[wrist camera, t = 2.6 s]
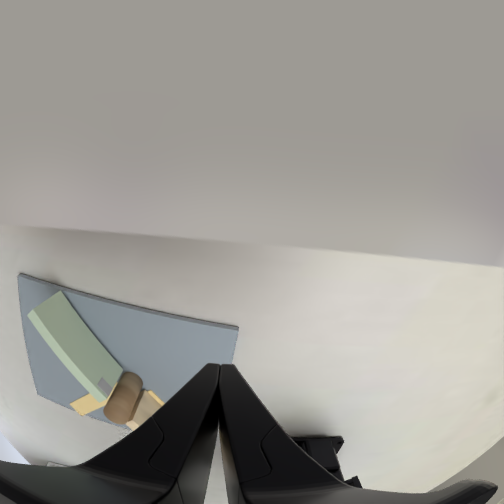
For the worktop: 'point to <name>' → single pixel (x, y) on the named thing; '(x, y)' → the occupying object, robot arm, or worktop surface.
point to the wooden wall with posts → (130, 402)
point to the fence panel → (76, 346)
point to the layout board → (122, 346)
